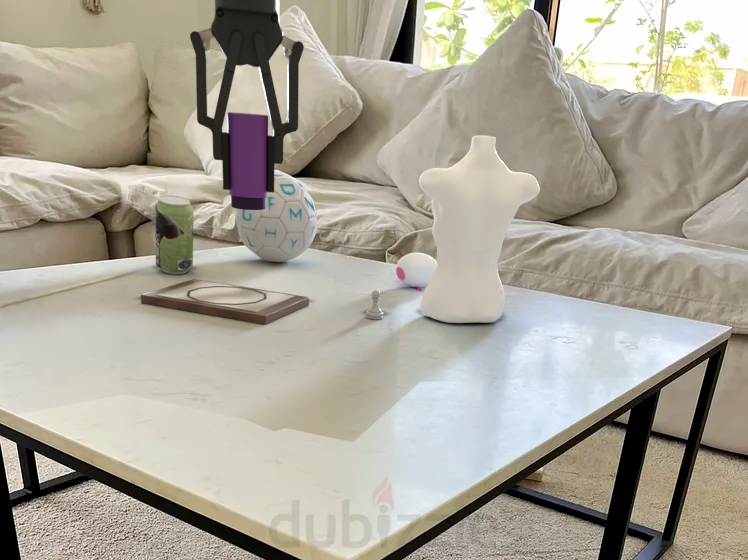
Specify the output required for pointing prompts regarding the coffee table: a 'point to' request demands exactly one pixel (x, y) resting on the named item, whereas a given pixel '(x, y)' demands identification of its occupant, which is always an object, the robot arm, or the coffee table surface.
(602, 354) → the coffee table surface
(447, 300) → the torso sculpture
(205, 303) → the drawing board
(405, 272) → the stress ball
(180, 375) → the coffee table surface
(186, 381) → the coffee table surface
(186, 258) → the beverage can
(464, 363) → the coffee table surface
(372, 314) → the pawn
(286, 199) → the puzzle ball
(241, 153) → the dot marker
